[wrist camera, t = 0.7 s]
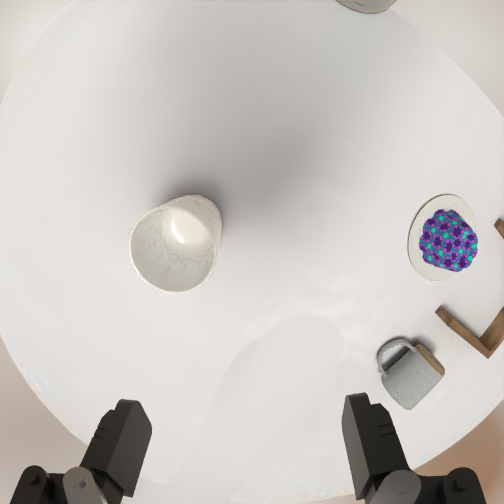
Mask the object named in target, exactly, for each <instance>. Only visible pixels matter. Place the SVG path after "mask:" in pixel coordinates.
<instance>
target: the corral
mask: <svg viewBox="0 0 504 504" xmlns="http://www.w3.org/2000/svg"><path fill="white" fill-rule="evenodd" d="M494 226H495V227H496V229H497V230H498V232H499V233H500V234H501V236H502V237H503V239H504V222H503V221H501V220H497V221H496V223H495V225H494ZM435 313H436V314H437V315H438V316H439V317H440V318H441V319H442V320H443V321H444V322H445V324H446V325H447V326H448V327H450V328H451V329H452V330H453V331H455V332H456V333H457V334H458V335H460V336H461V337H462V338H463V339H465V340H466V341H467V342H468V343H469V344H471V345H472V346H473V347H474V348H476V349H477V350H478V351H479V352H480V353H482V354H483V355H484V356H485V357H486V358H487V359H488V358H489V357H490V356H491V355H492V354H493V352H494V351H495V350H496V349H497V347H498V346H499V345H500V344H501V342H502V341H503V340H504V307H503V308H502V310H501V311H500V313H499V314H498V315H497V317H496V318H495V319H494V321H493V322H492V324H491V325H490V326H489V327H488V329H487V330H486V331H485V333H484V334H483V335H482V336H481V338H480V339H478V338H477V337H476V336H475V335H473V334H472V333H471V332H470V331H469V330H468V329H467V328H465V327H464V326H463V325H462V324H461V323H460V322H458V321H457V320H456V319H455V318H454V317H453V316H451V315H450V314H449V313H448V312H447V311H446V310H444V309H443V308H442V307H441V306H440V307H439V308H438V309H437V311H436V312H435Z"/></svg>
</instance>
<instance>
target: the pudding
mask: <svg viewBox="0 0 504 504" xmlns="http://www.w3.org/2000/svg"><path fill="white" fill-rule="evenodd" d="M446 207H448V208H452V209H454V210H456V211H457V212H458V213H459V214H460V215H461V217H462V218H463V219H462V218H461V217H460V216H459V215H458V214H457V213H456V212H455V211H454V210H449V211H448V212H446V211H444V210H443V209H441V210H438V209H440V208H446ZM436 210H438V211H436ZM434 211H436V212H435V214H434V216H433V218H430V219H428V220H427V221H426V222H425V220H426V219H427V218H428V217H429V215H430V214H432V213H433V212H434ZM424 222H425V223H424ZM423 224H424V226H423ZM422 226H423V235H422V236H421V238H420V240H419V234H420V231H421V228H422ZM418 241H419V246H418ZM477 243H478V239H477V236H476V225H475V220H474V216H473V213H472V211H471V209H470V207H469V206H468V205H467V203H466V202H465V201H463V200H462V199H461V198H459V197H457V196H453V195H443V196H439V197H437V198H435V199H433V200H431V201H430V202H429V203H427V204H426V205H425V206H424V207H423V208H422V209H421V211H420V212H419V214H418V215H417V217H416V219H415V221H414V223H413V225H412V228H411V231H410V236H409V246H408V249H409V257H410V261H411V263H412V265H413V268H414V269H415V270H416V272H417V273H418V274H419V275H420V276H421V277H423V278H425V279H427V280H431V281H439V280H444V279H446V278H449V277H451V276H452V275H454V274H455V273H456V272H458V271H461V270H462V269H463V268H467V267H468V266H469V265H470V264H471V263H472V259H473V258H474V257H475V256H476V254H477V247H476V246H477ZM419 247H420V249H421V250H422V251H423V259H424V261H425V262H427V263H428V264H432V265H434V266H436V267H439V268H435V267H431V266H429V265H427V264H426V263H425V262H424V261H423V259H422V257H421V255H420V252H419Z"/></svg>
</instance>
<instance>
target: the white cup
mask: <svg viewBox="0 0 504 504" xmlns="http://www.w3.org/2000/svg"><path fill="white" fill-rule="evenodd" d="M222 225H223V224H222V219H221V215H220V211H219V210H218V209H217V207H216V206H215V205H214V203H213V202H212V201H211V200H209V199H207V198H205V197H203V196H201V195H185V196H183V197H179V198H176V199H173V200H170V201H168V202H166V203H164V204H162V205H160V206H157V207H155V208H153V209H151V210H149V211H147V212H146V213H144V214H143V215H142V216H141V217H140V218H139V219H138V220H137V221H136V223H135V224H134V226H133V228H132V230H131V233H130V236H129V243H128V249H129V256H130V260H131V262H132V265H133V267H134V269H135V270H136V272H137V273H138V275H139V276H140V277H141V278H142V279H143V280H144V281H145V282H146V283H147V284H149V285H150V286H152V287H153V288H155V289H157V290H159V291H162V292H166V293H171V294H182V293H187V292H191V291H193V290H195V289H197V288H199V287H200V286H202V285H203V284H204V283H205V282H206V281H207V280H208V279H209V277H210V276H211V274H212V273H213V270H214V268H215V265H216V260H217V256H218V251H219V247H220V241H221V234H222Z"/></svg>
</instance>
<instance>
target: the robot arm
mask: <svg viewBox="0 0 504 504" xmlns="http://www.w3.org/2000/svg"><path fill="white" fill-rule="evenodd" d="M337 1H339V2H340V3H341V4H343V5H344V6H346V7H348V8H350V9H353V10H355V11H358V12H363V13H371V14H374V13H380V12H383V11H385V10H386V9H388V8H389V7H390V6H391V5H392V4H393V3H394V2H395V1H396V0H337ZM97 428H98V429H96V431H95V433H94V437H93V438H92V440H91V442H90V444H89V447H88V449H87V451H86V453H85V456H84V458H83V460H82V462H81V464H80V466H79V467H74V468H71V469H69V470H68V471H67V472H66V473H65V474H56V473H47V472H46V471H45V470H44V469H43V468H41V467H39V466H36V465H35V466H30V467H28V468H26V469H25V470H24V471H23V473H22V475H21V478H20V480H19V482H18V485H17V487H16V489H15V492H14V494H13V497H12V499H11V502H10V504H123V503H122V502H121V500H122V497H123V496H128V497H133V494H134V490H135V487H136V484H137V481H138V477H139V474H140V471H141V467H142V464H143V461H144V458H145V454H146V451H147V448H148V445H149V442H150V438H151V435H152V426H151V423H150V421H149V419H148V417H147V415H146V413H145V411H144V409H143V407H142V405H141V404H140V402H139V401H135V400H126V399H121V400H119V401H118V403H117V405H116V408H115V410H109V411H108V412H107V413H106V414H105V415H104V416H103V417H102V419H101V421H100V423H99V425H98V427H97ZM342 432H343V436H344V441H345V445H346V450H347V455H348V460H349V464H350V469H351V474H352V479H353V484H354V489H355V494H356V500H361V499H365V503H366V504H486V501H485V498H484V495H483V492H482V488H481V486H480V483H479V480H478V477H477V475H476V473H475V472H474V471H473V470H471V469H469V468H465V467H464V468H463V467H461V468H457V469H454V470H452V471H451V472H450V473H449V474H448V475H446V476H430V477H428V476H420V475H418V474H416V473H414V472H413V471H412V470H411V469H410V468H409V466H408V464H407V461H406V458H405V455H404V452H403V450H402V447H401V444H400V441H399V438H398V436H397V434H396V430H395V427H394V425H393V422H392V419H391V417H390V414H389V412H388V411H387V410H386V409H385V408H384V407H383V406H382V405H381V404H380V403H378V404H373V405H371V404H370V401H369V398H368V395H367V394H366V393H365V392H364V393H358V394H352V395H347V396H346V398H345V404H344V409H343V415H342Z"/></svg>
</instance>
